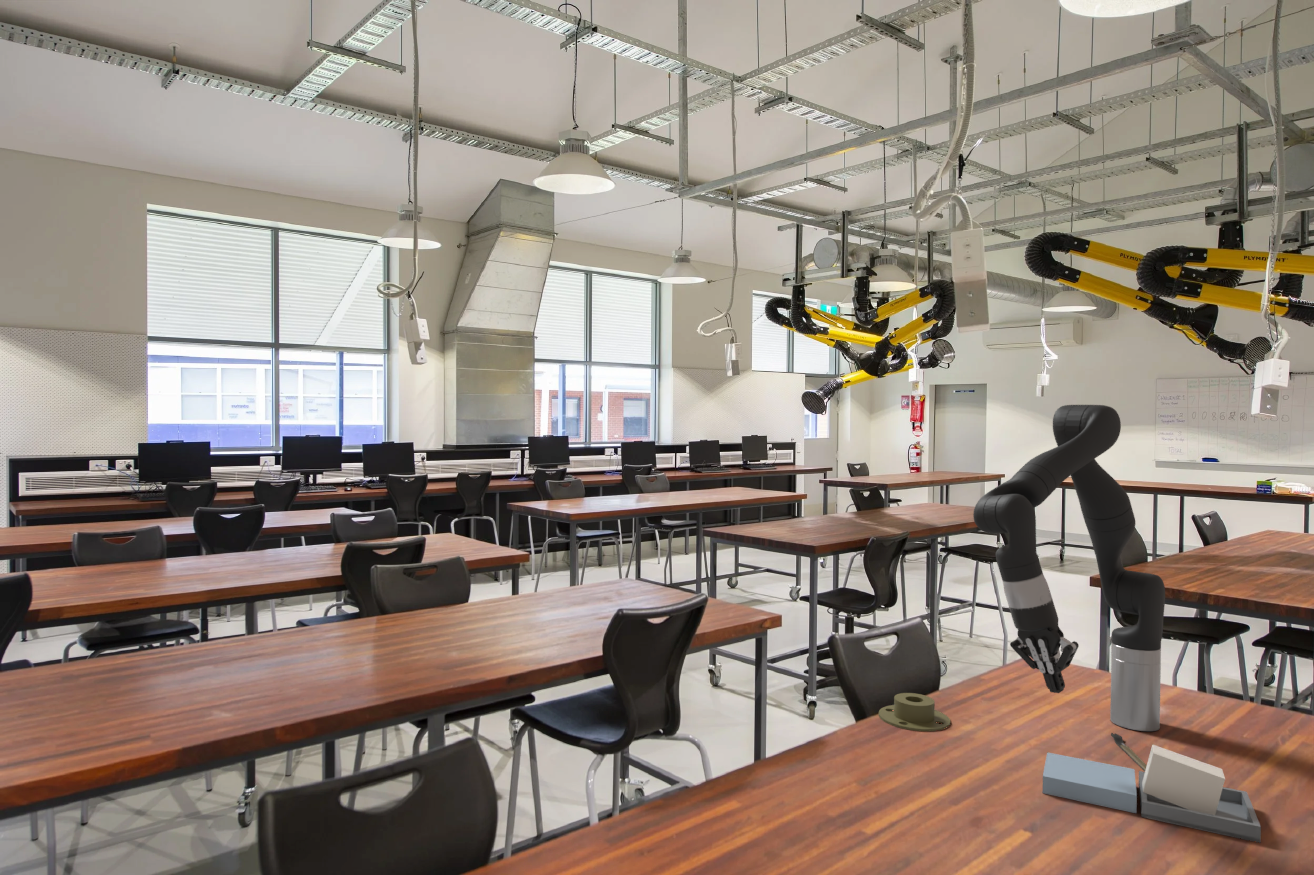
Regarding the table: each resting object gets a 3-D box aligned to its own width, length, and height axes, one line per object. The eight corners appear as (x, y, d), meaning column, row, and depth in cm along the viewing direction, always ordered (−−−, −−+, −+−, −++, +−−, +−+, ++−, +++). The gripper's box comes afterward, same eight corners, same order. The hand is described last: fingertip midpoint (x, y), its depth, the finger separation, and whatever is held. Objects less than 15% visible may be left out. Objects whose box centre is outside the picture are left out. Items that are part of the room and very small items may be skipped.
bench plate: (1047, 768, 147) (1047, 752, 147) (1134, 785, 140) (1134, 769, 140) (1042, 793, 136) (1042, 776, 136) (1136, 813, 129) (1136, 795, 129)
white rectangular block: (1142, 782, 135) (1152, 744, 135) (1211, 808, 130) (1222, 769, 130) (1142, 792, 132) (1153, 753, 131) (1213, 819, 126) (1225, 779, 126)
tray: (1138, 784, 140) (1138, 770, 140) (1246, 806, 132) (1246, 791, 132) (1141, 817, 128) (1141, 801, 128) (1260, 843, 120) (1260, 826, 120)
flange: (867, 699, 171) (935, 716, 161) (896, 684, 183) (960, 698, 173) (866, 721, 171) (934, 739, 161) (895, 704, 183) (960, 720, 173)
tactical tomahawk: (1183, 789, 141) (1184, 783, 141) (1142, 781, 143) (1143, 775, 143) (1141, 742, 162) (1141, 737, 162) (1105, 736, 163) (1106, 731, 163)
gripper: (1074, 593, 140) (1103, 687, 139) (1010, 593, 151) (1037, 679, 151) (1050, 607, 136) (1080, 704, 135) (986, 606, 147) (1013, 695, 147)
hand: (1057, 691), depth 143 cm, fingers closed
